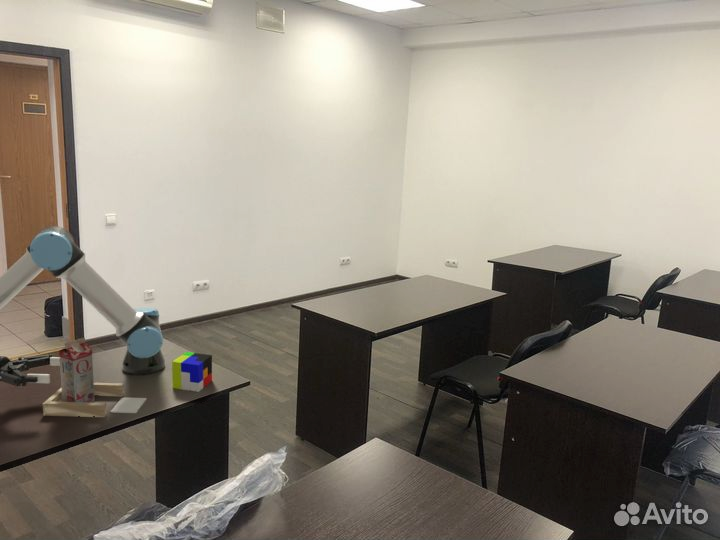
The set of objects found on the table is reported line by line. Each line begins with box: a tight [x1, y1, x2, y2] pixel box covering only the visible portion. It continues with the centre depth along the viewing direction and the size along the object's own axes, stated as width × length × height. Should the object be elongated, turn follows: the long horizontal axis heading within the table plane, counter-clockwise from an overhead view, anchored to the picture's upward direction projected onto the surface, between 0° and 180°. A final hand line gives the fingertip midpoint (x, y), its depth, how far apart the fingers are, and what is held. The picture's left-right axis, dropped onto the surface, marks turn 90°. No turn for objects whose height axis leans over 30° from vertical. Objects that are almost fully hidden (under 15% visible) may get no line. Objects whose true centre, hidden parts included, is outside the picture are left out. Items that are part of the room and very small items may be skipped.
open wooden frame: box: [42, 382, 125, 418], centre depth 175 cm, size 16×18×4 cm
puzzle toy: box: [171, 351, 213, 393], centre depth 194 cm, size 10×10×10 cm
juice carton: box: [58, 337, 96, 403], centre depth 173 cm, size 7×7×22 cm
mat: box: [109, 396, 147, 414], centre depth 176 cm, size 10×8×1 cm
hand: (60, 370), depth 172 cm, fingers open, 13 cm apart
